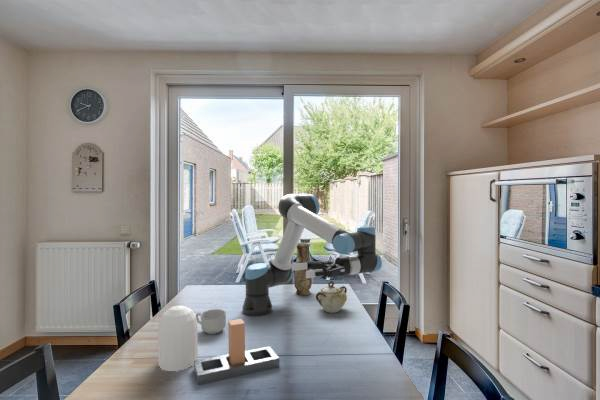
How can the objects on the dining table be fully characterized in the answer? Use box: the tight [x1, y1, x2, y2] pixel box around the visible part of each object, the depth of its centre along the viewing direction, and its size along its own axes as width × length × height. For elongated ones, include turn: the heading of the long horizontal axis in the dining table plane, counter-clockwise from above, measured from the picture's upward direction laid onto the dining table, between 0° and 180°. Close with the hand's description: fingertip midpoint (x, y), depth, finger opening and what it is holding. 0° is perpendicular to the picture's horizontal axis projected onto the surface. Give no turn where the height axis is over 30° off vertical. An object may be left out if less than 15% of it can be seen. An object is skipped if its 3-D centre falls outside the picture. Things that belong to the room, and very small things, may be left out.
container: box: [157, 305, 199, 372], centre depth 123 cm, size 14×13×20 cm
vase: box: [293, 241, 313, 296], centre depth 207 cm, size 10×11×30 cm
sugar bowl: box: [315, 280, 348, 314], centre depth 176 cm, size 20×15×15 cm
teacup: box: [195, 308, 227, 335], centre depth 151 cm, size 14×11×8 cm
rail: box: [193, 345, 280, 386], centre depth 119 cm, size 10×27×3 cm, turn 114°
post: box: [227, 318, 246, 366], centre depth 119 cm, size 5×5×16 cm
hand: (298, 270), depth 133 cm, fingers open, 13 cm apart
